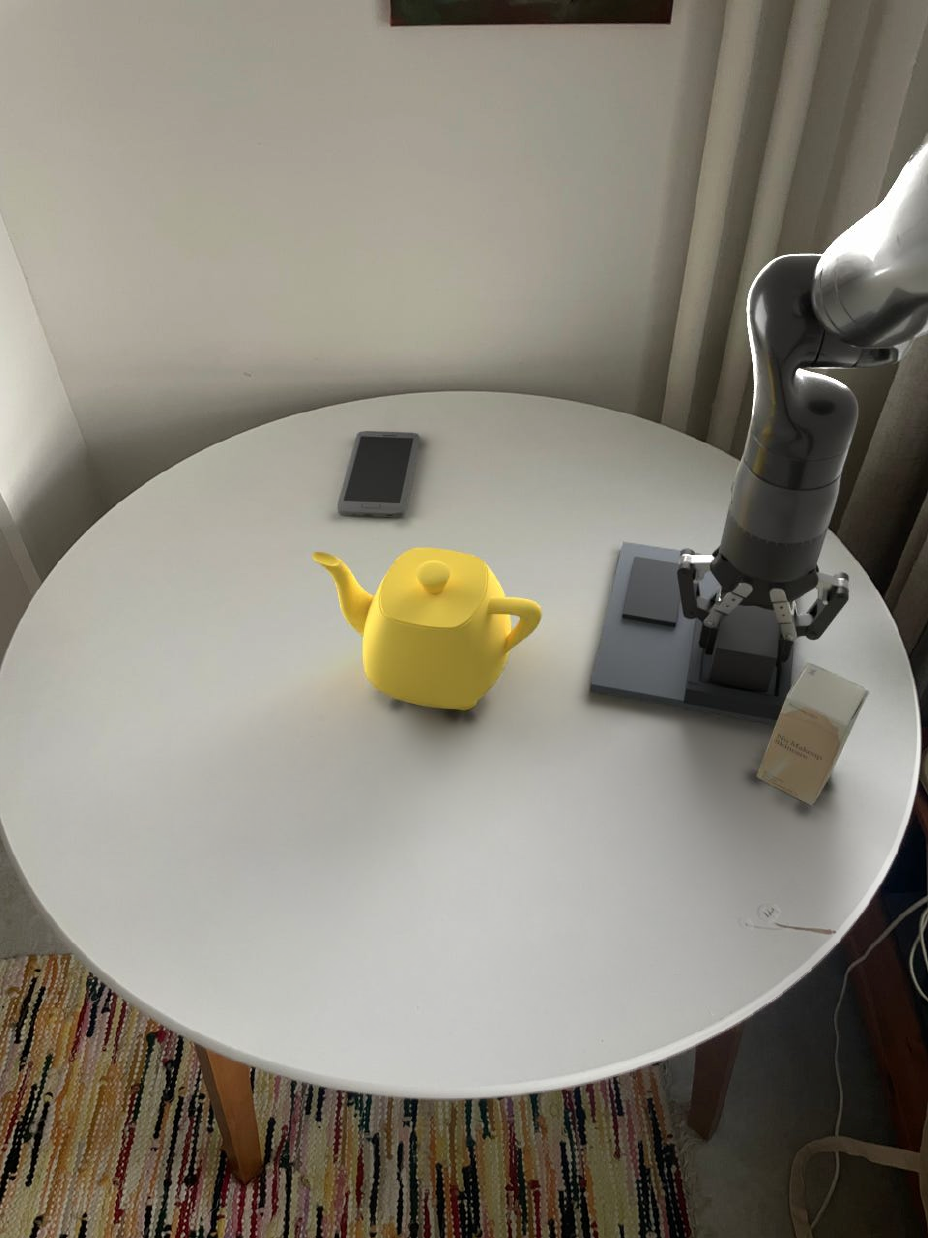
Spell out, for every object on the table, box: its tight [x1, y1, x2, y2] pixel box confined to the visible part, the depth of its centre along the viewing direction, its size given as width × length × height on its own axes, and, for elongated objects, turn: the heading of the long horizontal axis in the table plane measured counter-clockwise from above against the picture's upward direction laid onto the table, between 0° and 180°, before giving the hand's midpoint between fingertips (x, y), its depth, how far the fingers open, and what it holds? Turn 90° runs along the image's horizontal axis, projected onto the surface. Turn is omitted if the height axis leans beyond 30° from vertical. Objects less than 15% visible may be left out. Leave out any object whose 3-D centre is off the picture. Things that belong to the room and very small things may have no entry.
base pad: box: [589, 541, 795, 726], centre depth 95 cm, size 17×19×3 cm
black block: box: [708, 605, 780, 692], centre depth 89 cm, size 5×7×4 cm
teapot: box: [311, 546, 543, 711], centre depth 89 cm, size 13×20×12 cm
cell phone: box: [337, 430, 421, 518], centre depth 112 cm, size 7×14×1 cm, turn 175°
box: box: [756, 661, 870, 806], centre depth 81 cm, size 5×4×11 cm
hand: (741, 652), depth 90 cm, fingers closed on black block, 5 cm apart
